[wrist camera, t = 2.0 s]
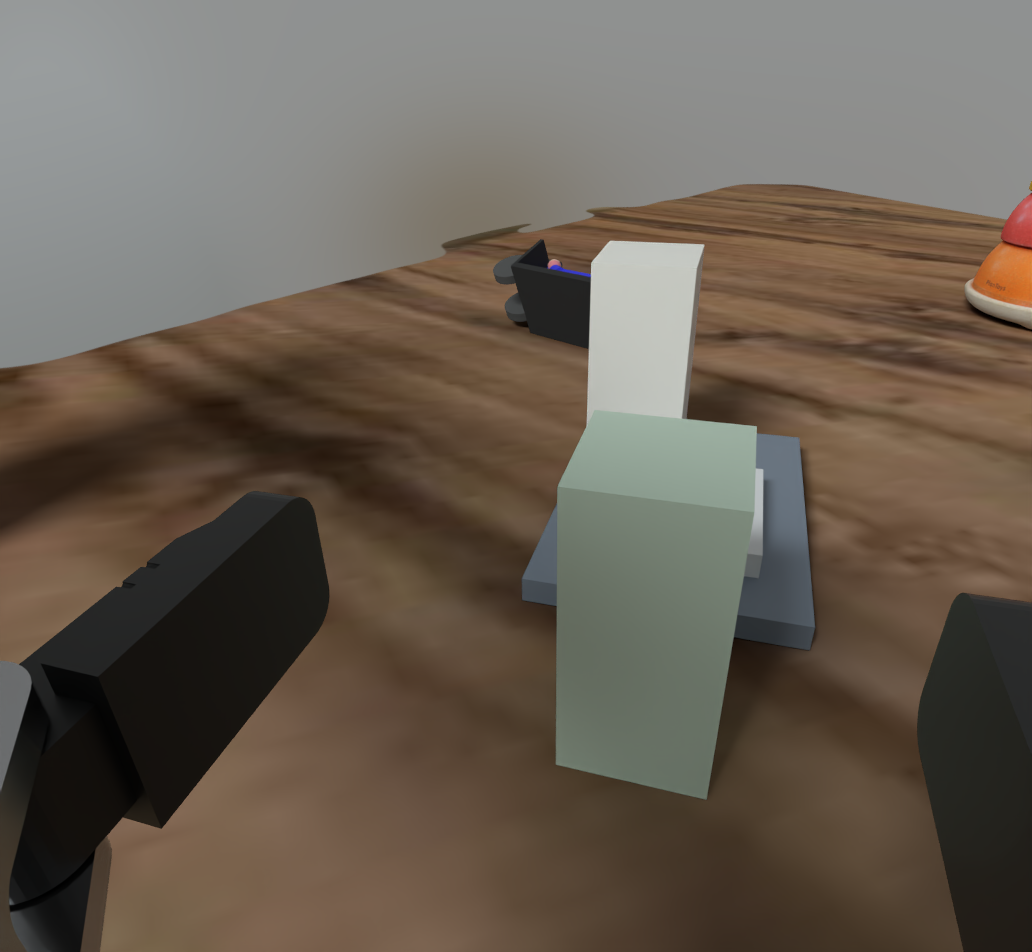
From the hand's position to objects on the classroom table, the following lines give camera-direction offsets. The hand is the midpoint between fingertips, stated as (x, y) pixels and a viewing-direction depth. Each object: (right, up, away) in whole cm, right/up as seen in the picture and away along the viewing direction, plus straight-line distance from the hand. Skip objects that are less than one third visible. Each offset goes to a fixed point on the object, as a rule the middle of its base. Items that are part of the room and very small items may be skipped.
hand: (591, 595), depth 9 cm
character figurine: (+4, +13, +53) cm, 55 cm away
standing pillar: (+6, +3, +33) cm, 33 cm away
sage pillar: (+3, -7, +17) cm, 19 cm away
